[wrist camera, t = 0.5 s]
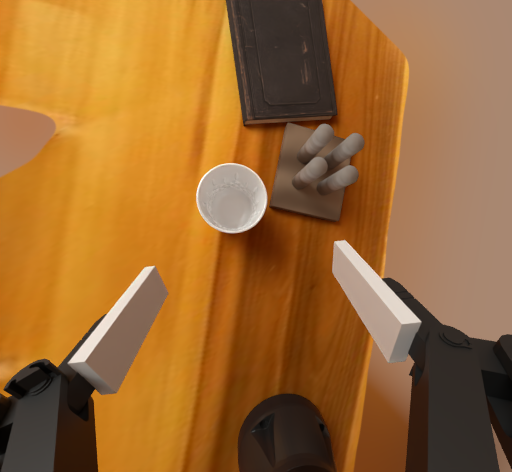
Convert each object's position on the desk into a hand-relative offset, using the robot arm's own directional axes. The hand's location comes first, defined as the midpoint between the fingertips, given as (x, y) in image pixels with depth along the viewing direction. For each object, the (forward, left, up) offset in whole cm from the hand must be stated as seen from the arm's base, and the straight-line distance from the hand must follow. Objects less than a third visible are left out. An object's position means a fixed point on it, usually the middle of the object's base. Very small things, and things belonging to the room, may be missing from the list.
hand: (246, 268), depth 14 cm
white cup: (+6, +2, -17) cm, 19 cm away
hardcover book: (+34, -1, -18) cm, 39 cm away
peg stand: (+15, -10, -17) cm, 25 cm away
